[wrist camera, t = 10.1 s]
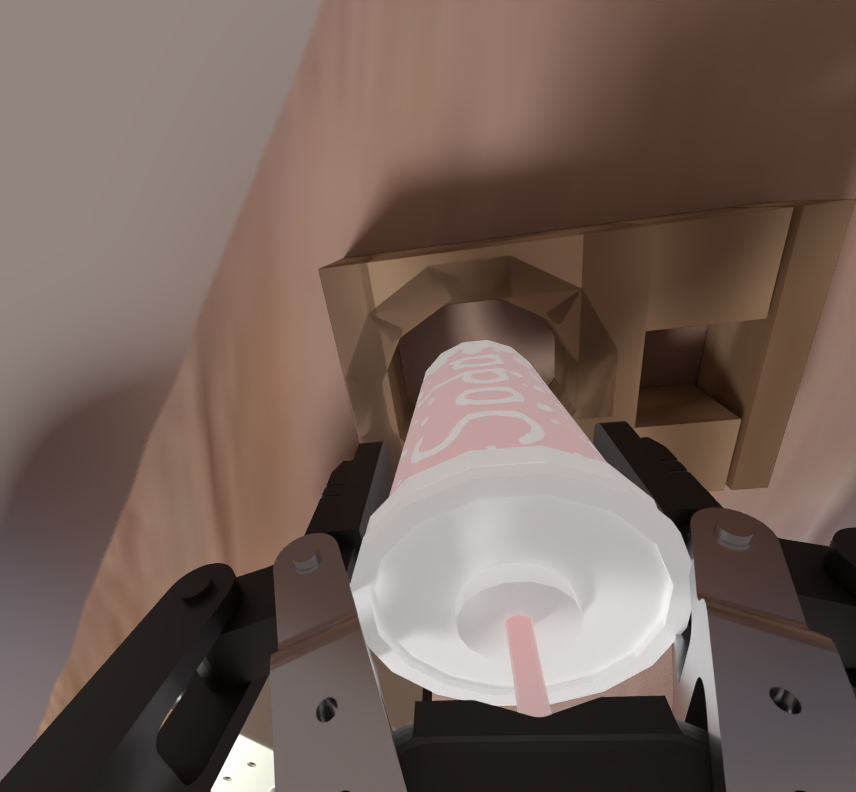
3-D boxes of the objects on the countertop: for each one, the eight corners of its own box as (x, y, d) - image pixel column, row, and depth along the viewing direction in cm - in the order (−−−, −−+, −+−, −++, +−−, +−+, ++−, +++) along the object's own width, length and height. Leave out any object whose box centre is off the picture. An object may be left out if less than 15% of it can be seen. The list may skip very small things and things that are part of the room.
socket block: (769, 201, 15) (856, 198, 12) (716, 443, 20) (767, 487, 16) (342, 258, 17) (317, 269, 13) (386, 468, 21) (376, 513, 18)
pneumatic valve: (397, 621, 27) (362, 899, 16) (255, 528, 24) (92, 795, 13) (454, 583, 25) (459, 870, 14) (309, 477, 22) (170, 740, 11)
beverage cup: (576, 327, 14) (2157, 1714, 1) (541, 468, 16) (865, 1344, 4) (404, 311, 14) (-87, 1479, 1) (397, 455, 16) (229, 1280, 4)
